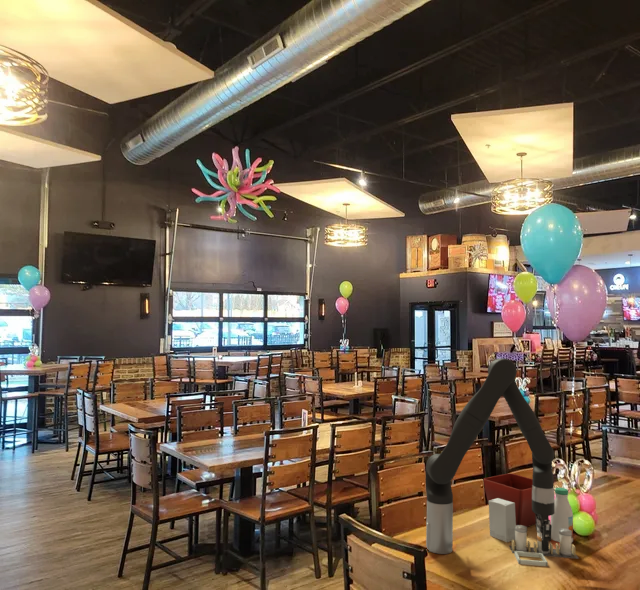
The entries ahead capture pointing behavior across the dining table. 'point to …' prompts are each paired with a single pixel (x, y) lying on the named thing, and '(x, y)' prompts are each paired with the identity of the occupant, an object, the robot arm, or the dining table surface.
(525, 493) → the plant pot
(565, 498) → the milk bottle
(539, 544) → the fuse marked
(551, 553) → the fuse block
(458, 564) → the dining table surface
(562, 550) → the cylinder
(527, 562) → the grey square frame
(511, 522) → the skincare box
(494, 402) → the robot arm
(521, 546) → the cylinder
